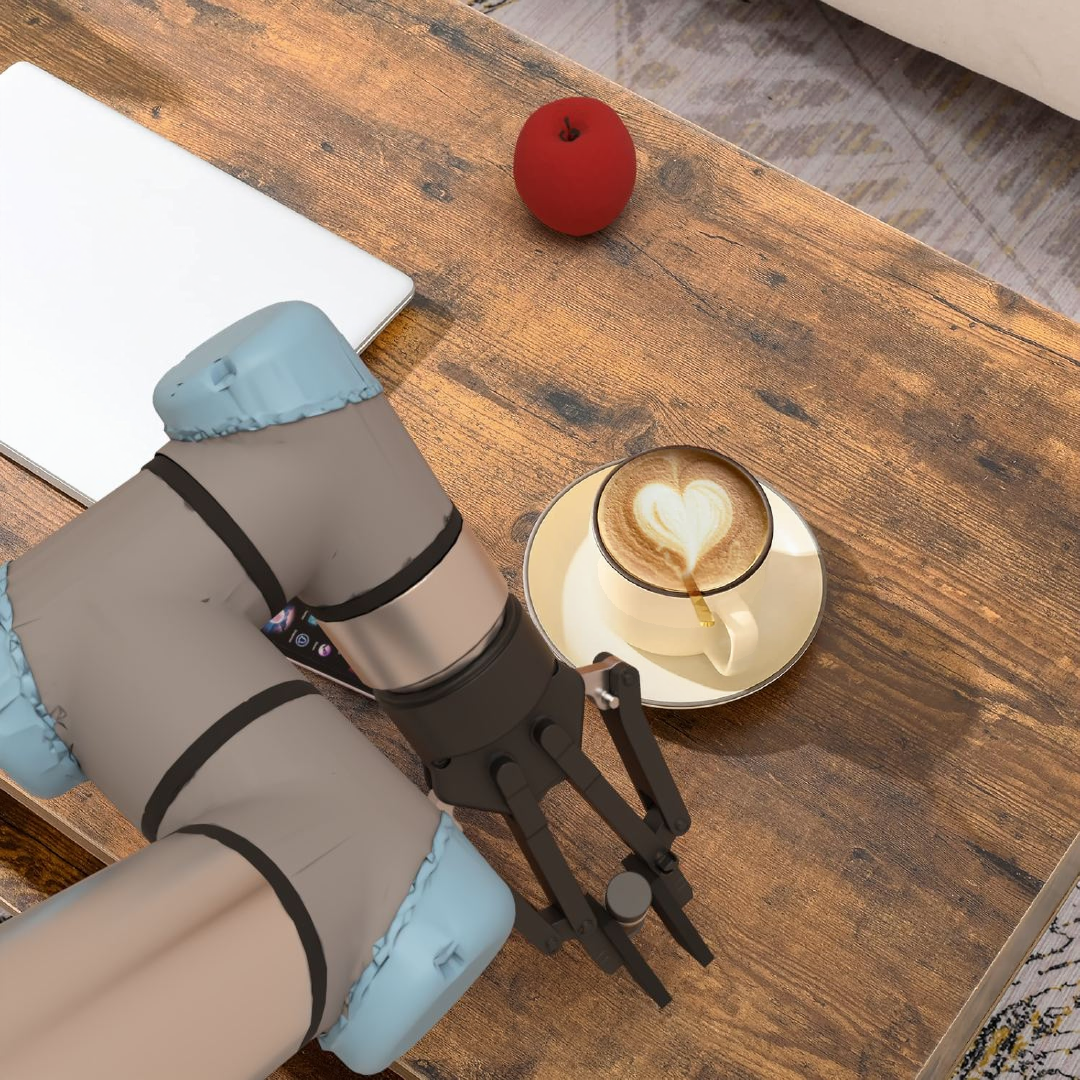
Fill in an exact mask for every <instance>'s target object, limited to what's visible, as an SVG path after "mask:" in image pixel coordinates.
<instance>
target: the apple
mask: <svg viewBox="0 0 1080 1080" xmlns="http://www.w3.org/2000/svg"><path fill="white" fill-rule="evenodd" d="M636 154H637V152H636V148H635V143H634V141H633V138H632V135H631V134H630V132H629V129H628V127H627V126H626V124H625V123H624V122H623V120H622V118H621V117H620V115H619V114H618V113H617V112H616V110H614V109H613V108H612V106H610V105H608V104H607V103H605V102H603V101H602V100H601V99H597V98H595V97H590V96H589V97H588V96H569V97H563V98H560V99H555V100H552V101H551V102H548V103H546V104H543V105H541V106H539V107H538V108H537V109H536V110H535V111H533V112H532V113H531V114H529V117H528V118H527V119H526V121H525V122H524V124H523V126H522V128H521V129H520V132H519V134H518V137H517V139H516V143H515V148H514V152H513V161H512V177H513V180H514V181H513V182H514V185H515V189H516V190H517V193H518V195H519V197H520V198H521V200H522V202H523V203H524V205H525V206H526V207H527V208H528V209H529V210H530V211H531V213H532V215H534V217H536V218H537V219H538V220H539V221H540V222H541V223H542V224H543V225H545V226H546V227H548V228H550V229H553V230H555V231H558V232H559V233H562V234H565V235H570V236H573V237H576V236H579V237H580V236H586V235H591V234H593V233H596V232H598V231H601V230H604V229H605V228H606V227H608V226H609V225H610V224H612V223H613V222H614V221H615V220H616V219H617V218H618V217H619V216H620V214H621V213H622V212H623V210H624V209H625V208H626V206H627V205H628V202H629V201H630V198H631V196H632V194H633V191H634V188H635V185H636V180H637V179H636V178H637V155H636Z"/></svg>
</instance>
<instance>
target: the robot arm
mask: <svg viewBox="0 0 1080 1080" xmlns="http://www.w3.org/2000/svg"><path fill="white" fill-rule="evenodd" d="M152 406H153V408H154V410H155V412H156V414H157V415H158V417H159V418H160V420H161V421H162V423H163V432H164V433H165V435H166V436H167V438H168V439H169V440H168V441H167V442H166V443H165V444H164V445H162V446H161V447H160V448H159V449H158V450H156V451H155V453H154V455H153V458H152V459H151V460H149V461H148V462H146V463H145V464H144V465H142V466H141V467H140V470H139V471H138V472H137V473H136V474H134V475H133V476H131V477H130V478H128V479H127V480H126V481H125V482H123V483H122V484H120V485H119V486H118V487H116V488H115V489H112V491H111V492H108V494H106V495H105V496H103V497H102V498H101V499H99V500H98V501H96V502H95V503H93V504H91V506H89V507H87V508H86V509H85V510H84V511H82V512H80V513H79V514H78V515H76V516H75V517H73V518H72V519H70V520H69V521H68V522H66V523H65V524H64V525H62V526H61V527H59V528H58V529H57V530H55V531H54V532H52V533H51V534H50V535H48V536H47V537H45V538H43V539H42V540H41V541H39V542H37V544H35V545H34V546H33V547H31V548H29V549H28V550H27V551H26V552H24V553H22V554H21V555H20V556H18V557H17V558H15V559H14V558H11V559H10V560H8V561H6V562H3V564H2V565H1V566H0V770H1V771H2V772H4V774H5V775H6V776H8V777H9V778H10V779H11V780H12V781H13V782H14V783H16V785H18V786H19V787H20V788H21V789H22V790H24V791H25V792H26V793H28V794H29V795H31V796H33V797H35V798H38V799H42V800H53V799H57V798H59V797H61V796H63V795H65V794H66V793H68V792H69V791H71V790H72V789H74V788H76V787H78V786H80V785H81V784H83V783H88V782H91V783H92V784H93V785H94V787H96V788H97V790H99V792H100V793H101V794H102V795H103V796H104V797H105V798H106V799H107V800H108V801H109V802H110V803H111V804H112V805H113V806H114V807H115V809H117V810H118V811H119V812H120V813H121V815H122V816H123V817H124V818H125V819H126V820H127V821H129V822H130V824H131V825H132V827H134V829H136V830H137V831H138V832H139V833H140V834H141V835H142V836H143V837H144V838H145V840H147V842H149V843H148V844H147V845H146V846H143V847H142V848H139V849H137V850H135V851H134V852H132V853H130V854H128V855H126V856H123V858H121V859H119V860H117V861H115V862H112V863H111V864H109V865H108V866H105V867H104V868H102V869H100V870H98V871H96V872H94V873H93V874H91V875H88V876H87V877H85V878H83V879H81V880H79V881H78V882H76V883H74V884H72V885H70V886H68V887H67V888H64V889H63V890H61V891H59V892H57V893H55V894H53V895H51V896H49V897H47V898H45V899H44V900H42V901H40V902H38V903H37V904H35V905H33V906H30V907H29V908H27V909H25V910H23V911H21V912H19V913H18V914H16V915H14V916H12V917H10V918H8V919H6V920H4V921H3V922H1V923H0V1080H266V1078H267V1077H269V1076H270V1075H271V1074H272V1073H274V1072H275V1071H276V1070H277V1069H279V1068H280V1067H281V1066H282V1065H283V1064H284V1063H286V1062H287V1061H288V1060H289V1059H290V1058H292V1057H293V1056H294V1055H296V1054H297V1053H298V1052H299V1051H301V1049H303V1048H305V1046H307V1045H308V1044H309V1043H310V1042H311V1041H312V1040H314V1039H317V1041H318V1043H319V1045H320V1047H321V1050H322V1051H329V1052H332V1053H333V1054H334V1055H335V1056H336V1057H337V1058H338V1059H339V1060H341V1061H342V1063H343V1064H344V1065H345V1066H346V1067H347V1068H349V1069H350V1070H351V1071H352V1072H354V1073H357V1074H359V1075H362V1076H365V1075H366V1076H370V1075H375V1074H378V1073H380V1072H382V1071H384V1070H385V1069H387V1068H389V1067H390V1066H391V1065H392V1064H393V1062H395V1061H397V1060H399V1059H400V1058H401V1057H403V1056H404V1055H406V1053H408V1052H409V1051H410V1050H411V1049H412V1048H413V1047H414V1046H416V1044H418V1042H419V1041H421V1039H422V1038H424V1036H425V1035H426V1034H428V1033H429V1031H430V1030H431V1029H433V1028H434V1027H435V1025H436V1024H438V1023H439V1021H440V1020H441V1019H442V1018H443V1017H444V1016H445V1015H446V1014H447V1013H448V1012H449V1011H450V1010H451V1009H452V1007H453V1006H455V1004H456V1003H457V1002H458V1001H459V1000H460V999H461V997H462V996H464V995H465V993H466V992H467V991H468V990H469V989H470V988H471V987H472V985H473V984H474V983H475V982H476V980H477V979H478V978H479V977H480V976H481V975H482V973H483V972H484V971H485V970H486V968H487V967H488V966H489V965H490V964H491V962H492V961H493V960H494V959H495V957H496V956H497V955H498V953H499V952H500V950H501V949H502V947H503V946H504V945H505V943H506V942H507V940H508V938H509V936H510V934H511V933H512V931H513V928H514V929H515V930H516V931H517V932H518V933H520V934H521V935H522V936H523V937H524V938H525V939H526V940H527V941H528V942H529V943H531V944H532V946H534V947H535V948H536V949H537V950H538V951H539V952H540V953H541V954H542V955H544V956H546V957H552V956H554V955H556V954H558V953H559V952H560V951H561V950H562V948H563V945H564V943H565V942H567V941H569V940H576V941H577V942H578V943H579V945H580V946H581V948H582V949H583V950H584V952H585V953H586V954H587V955H588V957H589V958H590V960H592V961H593V962H594V964H595V965H597V967H598V968H599V969H600V970H601V971H602V972H603V973H605V974H607V975H609V976H613V975H614V974H615V972H617V971H618V970H619V969H620V968H621V967H622V966H623V967H624V968H625V970H626V972H627V973H628V974H629V976H630V977H631V978H632V979H633V981H634V982H635V983H636V984H637V985H638V986H639V988H640V989H642V990H643V992H645V994H646V995H647V996H648V997H649V998H650V999H651V1000H652V1001H653V1002H654V1003H655V1004H656V1005H657V1006H658V1007H659V1008H660V1009H661V1010H664V1008H665V1007H667V1006H668V1005H669V1004H670V1003H671V1001H673V1000H674V998H673V997H672V995H671V994H670V993H669V992H668V990H667V988H666V987H665V986H664V985H663V983H662V981H661V980H660V979H659V977H658V975H656V973H655V972H654V970H653V969H652V968H651V966H650V965H649V964H648V962H647V961H646V960H645V958H644V957H643V955H642V954H641V953H640V951H639V950H638V948H637V947H636V945H635V944H634V943H633V942H632V940H631V939H629V937H628V936H627V935H626V933H625V932H624V930H623V929H622V928H621V926H620V925H619V923H618V922H617V921H616V919H615V918H614V917H613V916H612V915H611V914H610V913H609V912H608V911H607V910H606V909H605V908H604V907H603V906H602V905H601V904H600V903H601V902H599V901H598V900H597V899H596V898H595V897H594V896H593V895H592V894H591V893H590V892H589V891H587V892H586V893H585V894H584V892H583V891H582V889H581V886H580V884H579V883H578V881H577V879H576V877H575V876H574V873H573V872H572V870H571V868H570V866H569V864H568V862H567V860H566V858H565V857H564V855H563V853H562V850H561V849H560V847H559V845H558V843H557V841H556V839H555V837H554V835H553V834H552V832H551V830H550V828H549V826H548V825H549V821H548V819H547V817H546V815H545V814H544V812H543V810H542V808H541V806H540V803H541V802H542V801H543V799H544V797H545V796H546V795H547V793H548V792H549V791H550V789H552V788H553V787H557V786H558V785H560V784H561V783H563V782H565V781H566V782H567V783H568V784H569V785H570V786H571V787H572V788H573V790H574V791H575V792H576V793H577V794H578V795H579V796H580V797H581V798H582V799H583V801H584V802H586V804H587V805H588V806H589V807H590V808H591V809H592V810H593V812H595V813H596V815H598V817H600V819H601V820H602V821H603V822H604V823H605V824H606V825H607V826H608V828H609V829H611V831H612V832H613V833H614V834H615V835H616V836H617V837H618V838H619V839H620V840H621V842H622V843H623V844H624V845H625V846H626V847H627V848H628V849H630V850H631V851H632V852H631V851H630V852H629V853H628V855H626V856H625V857H624V858H623V859H622V860H621V861H620V864H621V865H622V867H623V868H624V869H625V871H633V872H637V873H639V874H641V875H642V876H643V877H644V878H645V879H646V880H647V881H648V883H649V884H650V887H651V890H652V901H651V904H650V908H652V910H653V911H654V912H655V914H656V915H657V917H658V918H659V920H660V921H661V923H662V924H663V926H664V927H665V929H666V930H667V931H668V933H669V934H670V935H671V937H672V938H673V940H674V941H675V943H676V944H678V946H680V947H681V948H682V949H683V950H684V951H685V952H686V953H688V954H689V955H690V956H691V957H692V958H693V959H694V960H695V961H696V962H697V963H698V964H699V965H700V966H701V967H703V968H704V969H706V968H707V967H708V966H709V965H710V964H712V962H713V961H714V960H715V959H716V957H715V956H714V954H713V953H712V951H711V949H710V948H709V946H708V945H707V944H706V942H705V941H704V939H703V938H702V936H701V935H700V934H699V932H698V930H697V929H696V928H695V925H693V923H692V922H691V920H690V919H689V917H688V916H687V914H686V913H685V911H684V910H683V908H684V907H685V906H686V905H687V904H688V903H689V902H690V901H691V900H692V899H693V898H694V892H693V891H694V890H693V887H692V886H691V884H690V883H689V881H688V880H687V878H686V876H684V874H683V872H682V870H681V869H680V868H679V866H680V859H679V857H678V855H677V854H676V853H674V851H672V850H671V849H672V845H673V843H674V841H675V840H676V838H677V837H682V836H683V835H686V834H687V833H688V832H689V830H690V829H691V826H692V818H691V815H690V813H689V811H688V808H687V806H686V804H685V803H684V800H683V797H682V794H681V793H680V791H679V788H678V786H677V784H676V781H675V780H674V778H673V775H672V773H671V771H670V769H669V766H668V764H667V762H666V759H665V757H664V755H663V752H662V751H661V748H660V746H659V744H658V741H657V739H656V737H655V734H654V733H653V731H652V729H651V726H650V723H649V721H648V719H647V717H646V715H645V712H644V711H643V703H642V689H641V675H640V671H639V670H638V669H637V667H635V666H634V665H632V664H630V663H628V662H626V661H625V660H623V659H621V658H620V657H618V656H616V655H614V654H612V653H611V652H608V651H601V652H598V653H597V654H596V655H595V656H594V658H593V660H592V663H591V664H588V665H583V666H581V667H576V668H574V667H572V666H570V664H568V663H566V662H565V661H563V660H560V659H558V657H557V656H556V654H555V653H554V651H553V650H552V649H551V647H550V646H549V643H547V641H546V639H545V638H544V636H543V635H542V633H541V631H540V630H539V628H538V627H537V626H536V624H535V623H534V621H533V619H532V618H531V617H530V615H529V613H528V612H527V610H526V609H525V608H524V605H523V604H522V603H521V601H520V600H519V599H518V597H517V596H516V595H515V594H513V593H511V592H509V585H508V582H507V580H506V579H505V577H504V575H503V574H502V572H501V570H499V568H498V566H497V565H496V563H495V562H494V561H493V559H492V557H491V556H490V555H489V553H488V552H487V549H485V547H484V546H483V544H482V543H481V541H480V540H479V538H478V536H477V535H476V534H475V532H474V530H473V529H472V527H471V525H469V523H468V521H467V520H466V519H465V517H464V515H463V513H462V512H461V511H460V510H459V509H458V507H457V506H456V505H455V503H454V501H453V499H452V498H450V496H449V495H448V493H447V492H446V490H445V488H444V486H443V485H442V484H441V482H440V480H439V479H438V477H437V475H436V474H435V472H434V470H433V469H432V467H431V466H430V464H429V463H428V461H427V460H426V458H425V456H424V455H423V453H422V452H421V450H420V449H419V446H418V445H417V443H416V441H415V440H414V438H413V437H412V435H411V434H410V433H409V431H408V429H407V427H406V426H405V425H404V423H403V421H402V420H401V418H400V416H399V415H398V413H397V411H396V410H395V408H394V407H393V405H392V404H391V402H390V400H389V399H388V397H387V396H386V393H385V392H384V386H383V385H382V382H380V380H379V379H378V378H376V377H375V376H374V375H373V373H372V372H371V370H370V369H369V368H368V367H367V366H366V364H365V363H364V361H363V360H362V358H361V357H360V356H359V354H358V353H357V352H356V350H355V349H354V348H353V346H352V345H351V344H350V342H349V341H348V340H347V338H346V337H345V335H344V334H343V333H342V332H341V331H340V330H339V328H338V327H337V326H336V325H335V324H334V322H333V321H332V319H330V317H329V316H328V315H327V314H326V313H325V312H324V311H323V310H322V309H321V308H320V307H318V306H317V305H315V304H312V303H310V302H306V301H304V300H297V299H296V300H286V301H279V302H275V303H272V304H270V305H267V306H265V307H262V308H259V309H257V310H256V311H254V312H252V313H249V314H248V315H246V316H244V317H242V318H240V319H238V320H237V321H235V322H233V323H231V324H230V325H228V326H227V327H225V328H223V329H221V330H220V331H219V332H217V333H216V334H214V335H212V336H211V337H209V338H207V339H206V340H205V341H204V342H202V343H201V344H199V345H198V346H197V347H195V348H193V350H191V351H190V352H188V354H187V355H186V356H185V357H184V358H183V359H182V360H181V361H179V363H177V364H176V365H174V366H172V367H171V368H170V369H169V370H168V371H166V372H165V373H164V374H163V376H162V377H161V378H160V379H159V381H158V382H157V383H156V385H155V387H154V389H153V393H152ZM295 596H297V597H298V598H299V599H300V600H301V601H302V603H303V604H304V606H305V607H306V609H307V610H308V611H309V613H310V614H311V615H312V616H313V617H314V618H315V620H316V622H317V623H318V624H319V626H320V627H321V628H322V630H323V631H324V632H325V633H326V635H327V636H328V637H329V639H330V640H331V641H332V643H333V644H334V645H335V647H336V648H337V649H338V651H339V652H340V653H341V655H342V656H343V657H344V659H345V660H346V661H347V663H348V664H349V665H350V667H351V668H352V669H353V671H354V672H355V673H356V674H357V676H358V677H359V678H360V680H361V681H362V682H363V683H364V684H365V685H367V686H369V687H370V688H373V694H374V697H375V699H376V700H375V701H376V702H377V703H378V705H379V706H380V707H381V709H382V710H383V711H384V713H385V714H386V716H388V718H389V719H390V720H391V722H392V724H393V725H394V726H395V728H397V730H398V731H399V732H400V733H401V735H402V736H403V738H404V739H405V740H406V742H407V743H408V744H409V746H410V747H411V748H412V750H413V751H414V752H415V753H416V755H417V756H418V757H419V759H420V762H421V764H422V769H423V779H424V783H425V785H426V787H427V788H428V790H429V791H428V794H427V795H426V794H425V793H424V792H423V791H421V790H420V788H419V787H418V786H417V785H416V784H415V783H413V782H412V781H411V779H409V777H408V776H407V775H405V774H404V772H402V771H401V770H400V769H399V768H398V767H397V766H396V765H395V764H394V763H393V762H392V761H391V760H390V759H389V758H388V757H387V756H386V755H385V754H384V753H383V752H382V751H381V750H380V749H379V748H378V747H377V746H375V744H374V743H372V741H370V739H369V738H368V737H367V736H365V734H363V732H361V730H360V729H359V728H357V726H355V725H354V724H353V723H352V722H351V721H350V720H349V719H348V718H347V717H346V716H345V715H344V714H343V713H342V712H341V711H340V710H339V708H337V707H336V706H335V705H334V704H333V703H332V702H331V701H330V700H329V699H328V698H327V697H326V696H325V695H324V694H323V693H322V692H321V691H320V690H319V689H318V688H317V687H316V686H315V685H314V684H313V683H312V682H311V681H310V680H309V679H308V677H306V676H305V675H304V673H303V672H302V671H301V670H299V669H298V668H297V666H296V665H295V664H294V663H292V662H290V661H289V660H288V659H287V658H286V657H285V656H284V655H283V654H282V653H281V652H280V651H279V650H278V649H277V648H276V647H275V646H274V645H273V644H272V643H271V642H270V641H269V640H268V639H267V638H266V637H265V636H264V635H263V634H262V632H261V631H260V630H261V629H262V628H263V627H264V626H265V625H266V624H267V623H268V622H269V621H270V620H272V619H273V618H274V617H275V616H277V615H278V614H279V613H280V612H281V611H282V610H284V609H285V608H286V607H287V603H288V602H289V601H290V600H291V599H292V598H293V597H295ZM586 698H587V701H588V702H590V703H591V704H593V705H594V706H596V707H597V709H598V712H599V715H600V716H601V719H602V721H603V723H604V725H605V727H606V730H607V732H608V734H609V736H610V738H611V740H612V742H613V744H614V747H615V749H616V751H617V753H618V755H619V757H620V759H621V762H622V764H623V766H624V768H625V770H626V772H627V774H628V777H629V779H630V781H631V784H632V785H633V787H634V790H635V791H636V794H637V796H638V798H639V801H640V803H641V805H642V807H643V810H644V812H645V813H646V814H645V815H644V817H643V818H642V817H640V815H639V814H638V813H637V812H636V811H635V810H634V809H633V808H632V807H631V805H630V804H629V803H628V802H627V800H625V798H623V797H622V795H621V794H620V793H619V792H618V791H617V790H616V789H615V788H614V786H613V785H612V784H611V782H609V781H608V780H607V779H606V778H605V776H604V775H603V774H602V771H601V770H600V769H599V767H597V766H596V765H595V763H594V762H593V761H592V760H591V758H589V757H588V755H587V754H586V753H585V752H584V751H583V736H584V735H583V734H584V720H585V706H586V705H585V704H586ZM455 807H457V808H463V809H469V810H474V811H481V812H486V813H492V814H496V815H500V816H501V817H502V818H503V820H504V822H505V824H506V825H507V827H508V829H509V831H510V833H511V835H512V837H513V839H514V840H515V842H516V844H517V846H518V848H519V849H520V851H521V853H522V855H523V857H524V858H525V860H526V862H527V864H528V866H529V868H530V869H531V871H532V873H533V875H534V877H535V879H536V880H537V882H538V884H539V886H540V887H541V889H542V892H543V893H544V895H545V897H546V898H547V900H548V901H547V902H546V904H547V905H548V906H546V907H544V908H541V909H540V910H539V909H538V908H537V907H536V906H534V905H533V904H532V902H530V901H529V900H528V899H527V898H526V896H524V895H523V894H522V893H521V892H520V891H519V890H517V888H516V887H515V886H514V885H512V884H511V883H510V881H508V880H507V879H506V878H505V877H504V876H503V875H502V874H501V873H500V872H499V871H498V870H497V869H496V868H495V867H493V866H492V865H491V864H490V863H489V862H488V861H487V860H486V859H485V857H484V856H483V855H482V854H481V853H480V851H479V850H478V849H477V848H476V847H475V846H474V844H473V843H472V842H471V841H470V840H469V839H468V837H467V836H466V835H465V834H464V827H463V824H462V823H461V822H460V821H459V820H458V819H457V817H455V815H454V810H455Z"/></svg>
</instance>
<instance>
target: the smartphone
mask: <svg viewBox="0 0 1080 1080" xmlns="http://www.w3.org/2000/svg"><path fill="white" fill-rule="evenodd" d="M260 631H261V632H262V634H263V635H264V636H265V637H266V638H267V639H268V640H269V641H270V642H271V643H272V644H273V645H274V646H275V647H276V648H277V649H278V650H279V651H280V652H281V653H282V654H283V655H284V656H285V657H286V658H287V659H288V660H289V661H290V662H291V663H292V664H293V665H295V666H296V665H297V666H299V667H301V668H303V669H306V670H308V671H310V672H313V673H315V674H316V675H319V676H321V677H323V678H326V679H328V680H329V681H332V682H335V683H336V684H339V685H341V686H343V687H346V688H348V689H350V690H352V691H355V692H356V693H359V694H361V695H363V696H366V697H368V698H370V699H372V700H375V701H376V699H375V697H374V694H373V688H370V687H369V686H367V685H365V684H364V683H363V682H362V681H361V680H360V678H359V677H358V676H357V674H356V673H355V672H354V671H353V669H352V668H351V667H350V665H349V664H348V663H347V661H346V660H345V659H344V657H343V656H342V655H341V653H340V652H339V651H338V649H337V648H336V647H335V645H334V644H333V643H332V641H331V640H330V639H329V637H328V636H327V635H326V633H325V632H324V631H323V630H322V628H321V627H320V626H319V624H318V623H317V622H316V620H315V618H314V617H313V616H312V615H311V614H310V613H309V611H308V610H307V609H306V607H305V606H304V604H303V603H302V601H301V600H300V599H299V598H298V597H297V596H295V597H293V598H292V599H291V600H290V601H289V602H288V603H287V607H286V608H285V609H284V610H282V611H281V612H280V613H279V614H278V615H277V616H275V617H274V618H273V619H272V620H270V621H269V622H268V623H267V624H266V625H265V626H264V627H263V628H262V629H261V630H260Z"/></svg>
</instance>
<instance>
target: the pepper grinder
mask: <svg viewBox="0 0 1080 1080" xmlns="http://www.w3.org/2000/svg"><path fill="white" fill-rule="evenodd" d="M651 901H652V890H651V887H650V884H649V883H648V881H647V880H646V879H645V878H644V877H643V876H642V875H641V874H639V873H637V872H633V871H626V870H623V871H620V872H618V873H616V874H614V875H613V877H611V878H610V880H609V882H608V884H607V886H606V888H605V891H604V894H603V897H602V900H601V901H600V902H599V903H600V904H601V905H602V906H603V907H604V908H605V909H606V910H607V911H608V912H609V913H610V914H611V915H612V916H613V917H614V918H615V919H616V921H617V922H618V923H619V925H620V926H621V928H622V929H623V930H624V932H625V933H626V935H627V936H628V937H629V939H630V940H631V939H632V938H634V937H636V936H637V935H638V934H639V933H640V932H641V930H642V928H643V927H644V924H645V921H646V915H647V914H648V912H649V910H650V908H651V905H650V904H651Z"/></svg>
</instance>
